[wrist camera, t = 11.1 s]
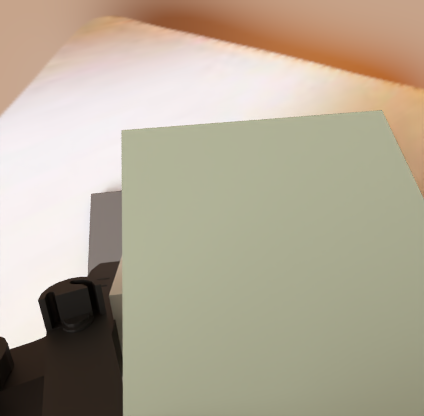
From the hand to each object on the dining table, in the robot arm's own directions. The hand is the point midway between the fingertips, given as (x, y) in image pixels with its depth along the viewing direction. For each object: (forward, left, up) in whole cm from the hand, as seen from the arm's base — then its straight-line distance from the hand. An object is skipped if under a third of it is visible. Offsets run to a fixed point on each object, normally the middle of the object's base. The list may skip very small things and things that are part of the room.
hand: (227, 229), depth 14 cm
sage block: (0, +4, -3) cm, 5 cm away
